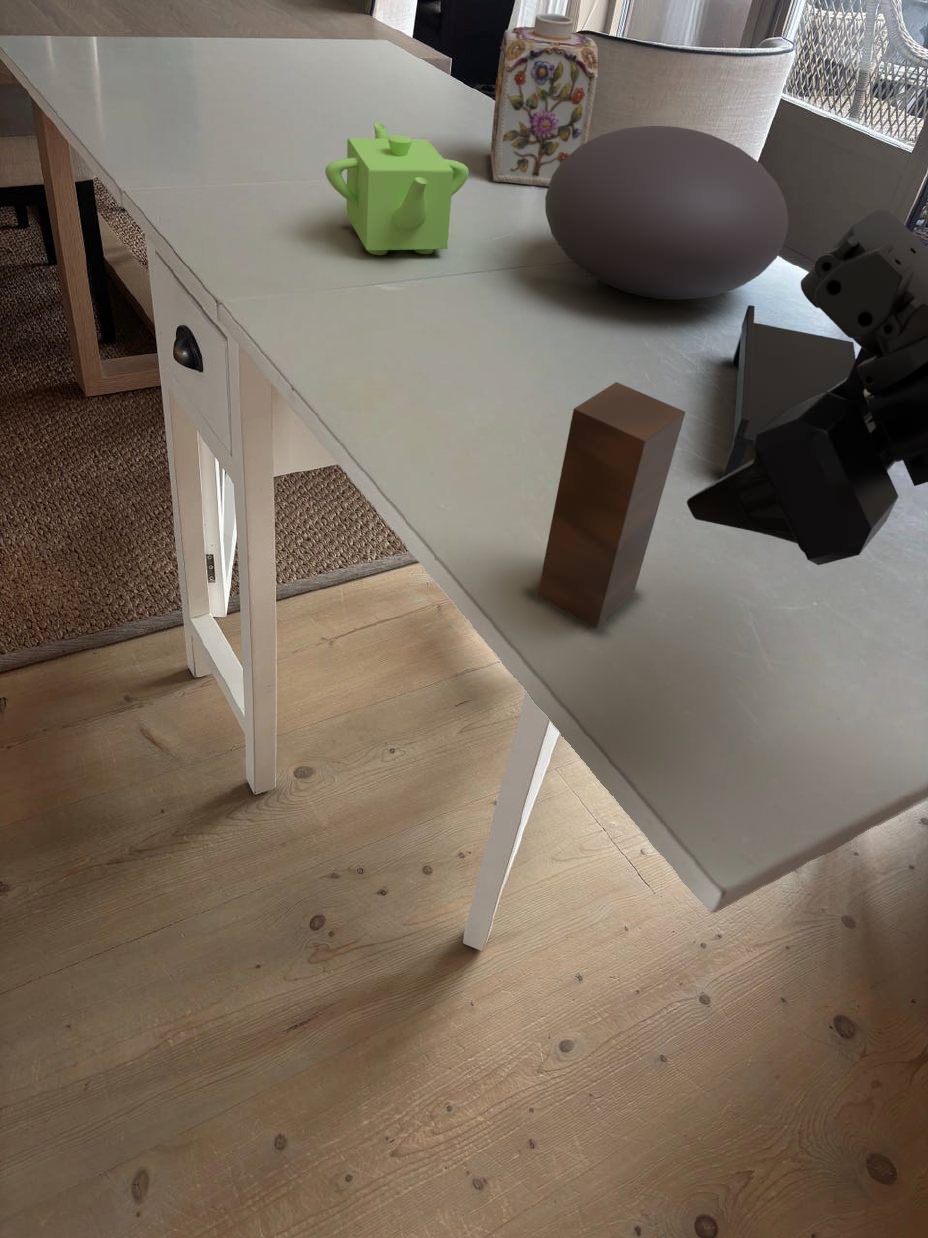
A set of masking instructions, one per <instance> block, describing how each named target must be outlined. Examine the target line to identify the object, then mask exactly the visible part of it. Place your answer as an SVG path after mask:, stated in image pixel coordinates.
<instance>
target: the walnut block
mask: <svg viewBox="0 0 928 1238" xmlns="http://www.w3.org/2000/svg"><path fill="white" fill-rule="evenodd" d="M685 415H686V411H685V410H682V409H680V408H678V407H676V406H674V405H671V404H669V403H666V402H665V401H662V400H659V399H657V398H655V397H652V396H650V395H648V394H645V393H643V392H641V391H638V390H636V389H634V388H631V387H630V386H627V385H624V384H622V383H620V382H617V381H616V382H614V383H612V384H611V385H609V386H607V387H606V388H604V389H603V390H601V391H600V392H598V393H596V394H595V395H593V396H592V397H590V398H588V399H587V400H585V401H584V402H582V403H580V404H579V405H577V406H575V407H574V408H573V410H572V416H571V420H570V424H569V425H570V426H569V431H568V436H567V439H566V440H567V441H566V446H565V452H564V456H563V460H562V467H561V472H560V477H559V481H558V487H557V492H556V498H555V504H554V508H553V513H552V517H551V524H550V528H549V533H548V539H547V543H546V547H545V548H546V549H545V554H544V559H543V564H542V569H541V573H540V574H541V575H540V580H539V585H538V591H537V595H538V596H540V597H541V598H543V599H545V600H547V601H548V602H550V603H552V604H554V605H555V606H557V607H559V608H561V609H562V610H564V611H566V612H568V613H570V614H571V615H573V616H575V617H576V618H578V619H580V620H582V621H584V622H585V623H588V624H589V625H591V626H593V627H595V628H599V627H600V626H601V625H602V624H603V623H604V622H605V621H606V620H607V619H608V618H609V617H611V616H612V615H613V614H614V613H615V612H616V611H617V610H618V609H619V608H620V607H621V606H623V605H624V604H625V603H626V602H627V601H628V600H629V599H630V598H632V596H633V595H635V590H636V588H637V584H638V581H639V578H640V577H639V576H640V573H641V570H642V566H643V563H644V559H645V555H646V552H647V549H648V545H649V542H650V538H651V535H652V532H653V528H654V525H655V521H656V518H657V513H658V510H659V506H660V503H661V499H662V496H663V493H664V489H665V486H666V482H667V478H668V475H669V472H670V468H671V464H672V460H673V457H674V454H675V450H676V446H677V443H678V439H679V436H680V433H681V430H682V426H683V423H684V422H683V421H684V418H685Z"/></svg>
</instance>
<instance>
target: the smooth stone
mask: <svg viewBox="0 0 928 1238" xmlns="http://www.w3.org/2000/svg"><path fill="white" fill-rule="evenodd" d="M778 184H779V183H777V181H776V180H775V178H773V176H772V175H771V174H770V173H769V172H768V171H767V169H765V167H764V166H763V164H761V163H760V162H759V161H757V160H756V159H755V158H754V157H752V156H751V155H750V154H748V153H747V152H746V151H744V150H743V149H741V148H740V147H738V146H736V145H735V144H732V143H730V142H728V141H726V140H724V139H722V138H719V137H717V136H714V135H713V134H709V133H706V132H703V131H699V130H695V129H692V128H691V129H690V128H685V127H680V126H672V125H671V126H669V125H646V126H633V127H626V128H621V129H618V130H613V131H611V132H607V133H603V134H602V135H599V136H596V137H594V138H592V139H591V140H589V141H587V143H585V144H583V145H581V146H579V147H578V148H577V149H576V150H575V151H574V152H572V153H571V154H570V155H569V156H568V157H567V158H566V159H565V160H563V161H562V162H561V163H560V165H559V166H558V168H557V169H556V171H555V172H554V174H553V175H552V178H551V181H550V184H549V187H548V186H547V190H546V193H545V198H544V199H545V200H544V202H545V203H544V205H545V206H544V207H545V209H544V210H545V217H546V219H547V223H548V226H549V230H550V233H551V235H552V236H553V238H554V239H555V241H556V242H557V244H558V246H559V247H560V248H561V250H562V251H563V253H564V254H565V255H566V256H567V257H568V258H569V259H570V260H571V261H572V262H573V263H574V264H575V265H576V266H578V267H579V268H580V269H581V270H583V272H585V273H586V274H588V275H590V276H591V277H593V278H594V279H597V280H598V281H600V282H602V283H604V284H607V285H608V286H611V287H613V288H615V289H617V290H620V291H624V292H626V293H630V294H633V295H637V296H640V297H645V298H651V299H658V300H659V299H660V300H669V301H671V300H674V301H675V300H676V301H677V300H678V301H679V300H681V301H682V300H683V301H684V300H693V299H703V298H710V297H714V296H718V295H721V294H725V293H727V292H730V291H734V290H735V289H738V288H740V287H742V286H745V285H746V284H748V283H749V282H751V281H753V280H754V279H756V278H757V277H759V276H760V275H761V274H762V273H763V272H765V271H766V270H767V268H769V267H770V266H771V264H772V263H773V262H774V261H776V259H777V258H778V256H779V253H780V252H781V250H782V248H783V246H784V245H785V241H786V238H787V233H788V228H789V215H788V209H787V204H786V200H785V197H784V195H783V193H782V191H781V189H780V187H779V185H778Z"/></svg>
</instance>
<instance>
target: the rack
mask: <svg viewBox="0 0 928 1238" xmlns="http://www.w3.org/2000/svg"><path fill="white" fill-rule="evenodd" d="M755 308H756V306H755V305H750V304H748V305H747V308H746V311H745V314H744V318H743V321H742V324H741V331H740V334H739V339H738V341H737V344H736V348H735V351H734V354H733V358H732V362H731V366H733V367H738V372H737V387H736V402H735V415H734V429H733V442H732V445H731V448H730V451H729V454H728V457H727V461H726V463H725V465H724V469H723V472H722V478H723V477H725V476H726V475H728V474H730V473H731V472H733V471H735V470H736V469H738V468H740V467H741V466H742V463H743V460H744V457H745V455H746V452H747V449H748V447H752V448H754V441H755V438H756V435H757V434H758V432H759V431H760V430H761V429H762V428H763V427H764V426H765V425H767V424H768V423H769V422H770V421H771V420H773V419H774V418H775V417H776V416H777V415H778V414H780V413H781V412H782V411H783V410H784V411H787V410H789V409H791V408H792V407H794V406H796V405H798V404H800V403H802V402H803V401H805V400H808V399H810V398H813V397H815V396H818V395H820V394H823V393H825V392H827V391H829V390H830V389H831V388H833V387H834V386H836V385H837V384H839V383H840V382H842V381H843V380H845V379H846V378H848V376H849V374H850V372H851V370H852V367H853V365H854V363H855V360H856V358H857V356H856V352H855V351H856V350H855V345H854V341H849V340H846V339H840V338H834V337H830V336H826V335H825V336H824V335H819V334H813V333H809V332H804V331H798V330H793V329H788V328H783V327H778V326H772V325H768V324H762V323H757V322H755V311H756V309H755Z"/></svg>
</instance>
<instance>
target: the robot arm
mask: <svg viewBox="0 0 928 1238" xmlns="http://www.w3.org/2000/svg"><path fill="white" fill-rule="evenodd" d="M800 289H801V292H802V293H803V295H804V297H805V298H806V299H807V300H808V302H809V303H810V304H811V305H812V306H813V307H815V309H816V308H817V309H820V310H821V311H822V312H823V313H824V314H825V315H826V316H827V317H828V318H829V319H830V320H831V321H832V322H833V324H834V325H836V326H837V327H838V329H839V330H840V331H841V332H842V333H843V334H845V336H847V337H848V338H849V339H852V340H853V342H855V343H856V344H857V345H858V346H859V347H860V349H859V351H858V354H857V356H856V360H855V363H854V365H853V367H852V370H851V372H850V374H849V376H848V378H846V379H845V380H843V381H842V382H840V383H839V384H837V385H836V386H834V387H833V388H831V389H830V390H829V391H827V392H825V393H823V394H820V395H818V396H815V397H813V398H810V399H808V400H805V401H803V402H802V403H800V404H798V405H796V406H794V407H792V408H791V409H789V410H787V411H784V410H783V411H782V412H781V413H780V414H778V415H777V416H776V417H775V418H774V419H773V420H771V421H770V422H769V423H768V424H767V425H765V426H764V427H763V428H762V429H761V430H760V431H759V432H758V434H757V435H756V438H755V441H754V447H753V450H754V458H753V459H751V460H749V461H748V462H746V463H745V464H743V465H741V467H740V468H738V469H736V470H735V471H733V472H731V473H730V474H728V475H726V476H725V477H723V476H722V477H721V478H720V479H718V480H716V481H714V482H713V483H711V484H709V485H708V486H706V487H704V488H703V489H701V490H700V491H698V492H697V493H695V494H693V495H691V496H690V497H689V498H688V499H687V500H686V505H687V507H688V510H689V512H690V513H691V515H692V518H694V519H695V520H697V521H702V522H706V523H711V524H716V525H721V526H725V527H730V528H735V529H740V530H744V531H750V532H754V533H757V534H763V535H767V536H770V537H774V538H776V539H780V540H784V541H787V542H791V543H793V544H797V546H798V547H799V549H800V551H801V552H802V553H804V555H805V557H806V560H807V561H809V562H811V563H813V564H815V565H817V566H822V565H826V564H830V563H833V562H837V561H841V560H844V559H845V560H846V559H849V558H853V557H857V556H860V555H861V553H862V552H863V551H864V550H865V549H866V547H867V546H868V545H869V543H870V542H871V541H872V539H873V538H874V537H875V536H876V534H878V532H879V531H880V530H881V528H882V527H883V526H884V525H885V524H886V522H887V521H888V519H889V517H890V514H891V513H892V511H893V509H894V506H895V505H896V503H897V501H898V499H899V494H898V491H897V490H896V487H895V485H894V483H893V481H892V478H891V477H890V474H889V472H888V471H889V470H890V469H891V468H892V467H893V466H894V465H895V464H896V463H899V462H903V463H904V467H905V468H906V470H907V473H908V475H909V478H910V480H911V483H912V484H913V486H914V487H916V486H919V485H924V484H926V483H928V247H927V246H926V245H925V244H924V243H923V242H922V241H921V240H920V239H919V238H918V237H917V236H916V235H915V234H914V233H913V232H912V231H911V230H910V229H909V228H908V227H907V226H906V225H905V224H904V223H903V222H902V221H901V220H900V219H899V218H898V217H896V216H895V215H894V214H892V213H891V212H888V211H887V210H884V209H877V210H875V211H873V212H872V213H870V214H868V215H867V216H865V217H863V218H862V219H860V220H858V221H857V222H855V223H854V224H852V225H851V226H850V228H849V229H848V230H847V231H846V232H845V233H844V234H843V235H842V236H841V237H840V238H839V239H838V240H837V241H836V243H834V245H833V246H832V247H831V248H830V249H829V250H827V252H826V253H824V254H823V255H822V256H820V257H819V258H818V259H817V260H816V261H815V263H814V265H813V267H812V268H811V269H810V270H809V271H808V272H807V274H806V275H805V276H804V277H803V278H802V279H801V281H800Z"/></svg>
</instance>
